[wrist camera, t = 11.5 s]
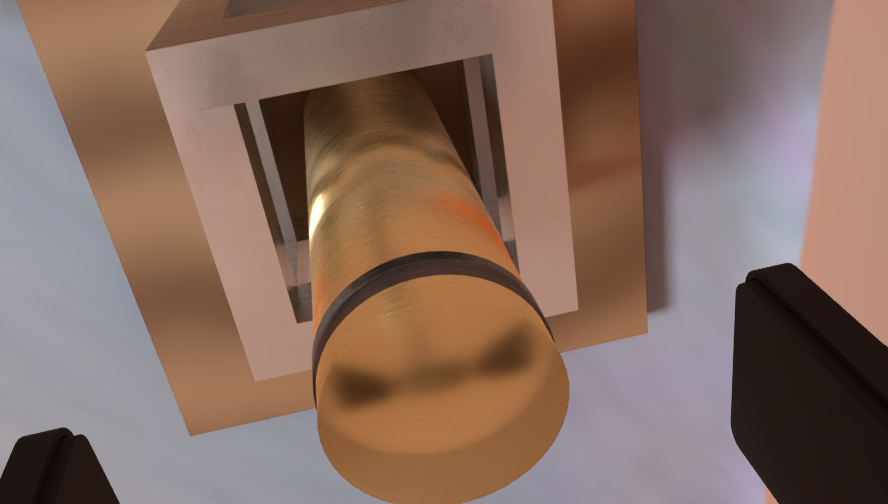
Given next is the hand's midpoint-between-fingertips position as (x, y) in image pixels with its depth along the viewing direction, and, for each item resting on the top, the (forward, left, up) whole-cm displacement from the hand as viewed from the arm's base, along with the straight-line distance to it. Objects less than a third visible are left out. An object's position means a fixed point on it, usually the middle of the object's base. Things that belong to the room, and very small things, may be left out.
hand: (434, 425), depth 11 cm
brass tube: (0, 0, -16) cm, 16 cm away
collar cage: (0, 0, -16) cm, 16 cm away
